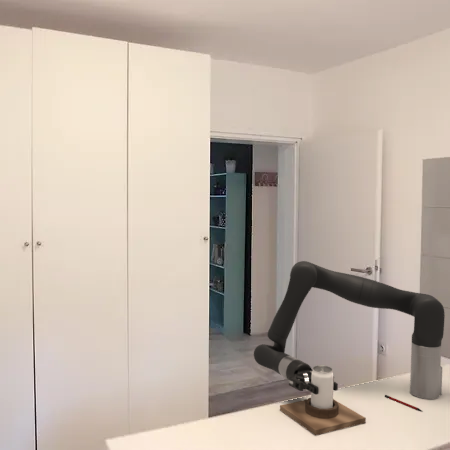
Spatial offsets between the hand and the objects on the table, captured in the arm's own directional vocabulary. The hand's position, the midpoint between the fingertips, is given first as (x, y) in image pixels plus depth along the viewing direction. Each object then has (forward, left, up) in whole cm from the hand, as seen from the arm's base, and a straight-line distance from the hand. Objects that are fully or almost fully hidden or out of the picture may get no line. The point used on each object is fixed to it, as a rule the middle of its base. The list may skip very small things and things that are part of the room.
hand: (327, 389), depth 146 cm
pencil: (-29, +2, -10) cm, 31 cm away
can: (0, -2, -7) cm, 7 cm away
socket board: (0, -2, -9) cm, 9 cm away
